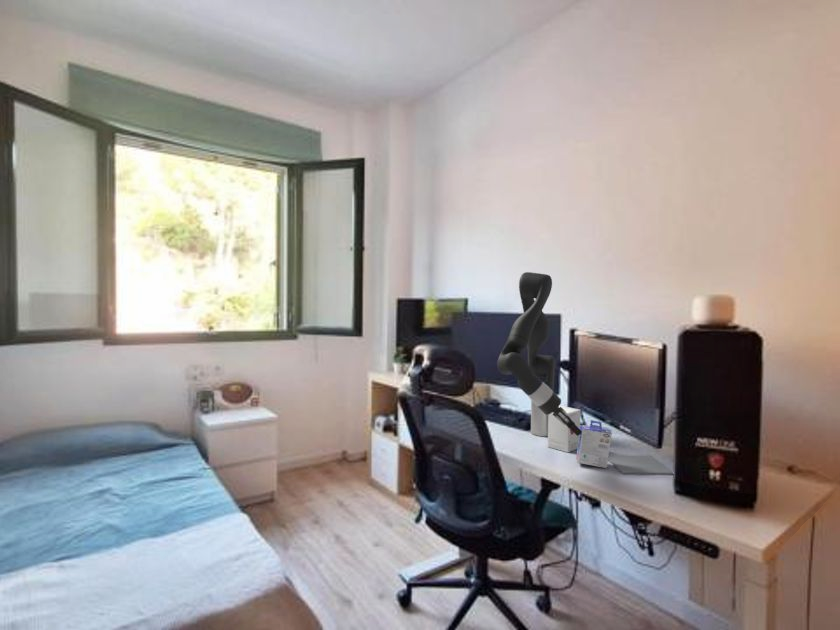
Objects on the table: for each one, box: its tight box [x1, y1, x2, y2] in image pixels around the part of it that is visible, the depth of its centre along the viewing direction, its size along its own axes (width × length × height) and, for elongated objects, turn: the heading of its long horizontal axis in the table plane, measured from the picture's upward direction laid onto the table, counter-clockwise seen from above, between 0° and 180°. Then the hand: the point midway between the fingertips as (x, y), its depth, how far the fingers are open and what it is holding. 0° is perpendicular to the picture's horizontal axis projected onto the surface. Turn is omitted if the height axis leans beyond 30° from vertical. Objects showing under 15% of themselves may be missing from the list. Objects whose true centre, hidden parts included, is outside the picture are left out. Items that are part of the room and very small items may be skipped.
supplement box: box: [547, 405, 582, 453], centre depth 175 cm, size 9×9×15 cm
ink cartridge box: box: [575, 420, 613, 469], centre depth 157 cm, size 10×6×14 cm, turn 79°
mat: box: [608, 454, 674, 475], centre depth 157 cm, size 16×17×1 cm
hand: (579, 433), depth 157 cm, fingers closed
